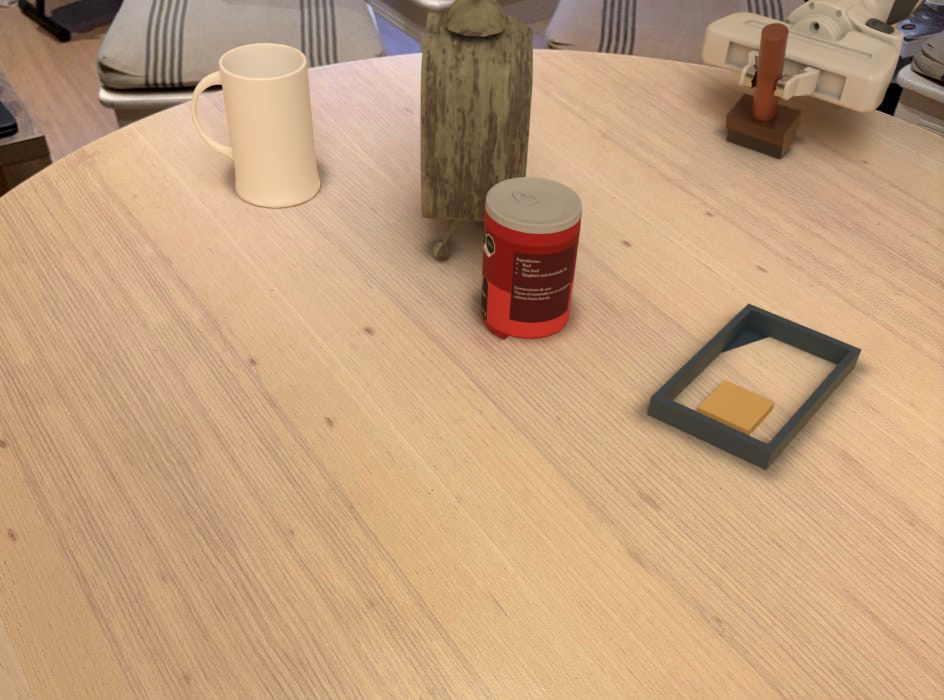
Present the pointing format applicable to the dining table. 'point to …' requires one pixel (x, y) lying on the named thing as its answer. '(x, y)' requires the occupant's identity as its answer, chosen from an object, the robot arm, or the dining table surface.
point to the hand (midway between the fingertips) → (763, 85)
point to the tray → (735, 334)
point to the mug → (266, 123)
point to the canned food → (529, 257)
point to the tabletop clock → (472, 109)
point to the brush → (765, 102)
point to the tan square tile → (736, 407)
